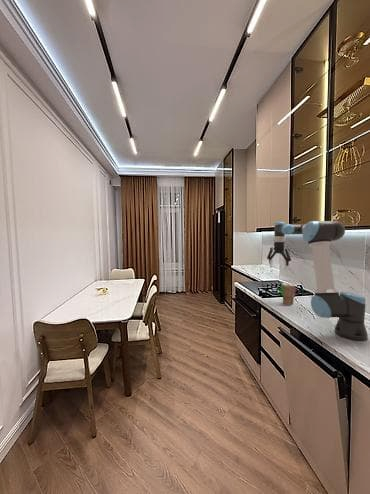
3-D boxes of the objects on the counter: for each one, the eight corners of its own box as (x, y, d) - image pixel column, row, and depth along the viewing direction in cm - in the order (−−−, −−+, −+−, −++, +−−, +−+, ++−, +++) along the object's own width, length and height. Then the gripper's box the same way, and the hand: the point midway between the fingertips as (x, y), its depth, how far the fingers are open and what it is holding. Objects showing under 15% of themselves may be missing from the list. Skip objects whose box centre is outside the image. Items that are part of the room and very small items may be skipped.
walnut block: (289, 306, 182) (289, 287, 181) (282, 304, 186) (283, 286, 185) (293, 304, 187) (294, 285, 186) (287, 302, 191) (287, 284, 190)
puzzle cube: (295, 297, 205) (295, 285, 205) (282, 296, 208) (283, 285, 207) (292, 294, 215) (292, 283, 214) (280, 293, 217) (280, 282, 216)
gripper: (296, 242, 183) (295, 270, 185) (267, 240, 201) (267, 266, 203) (292, 242, 178) (291, 271, 180) (262, 241, 196) (262, 267, 198)
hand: (278, 268), depth 191 cm, fingers open, 12 cm apart
